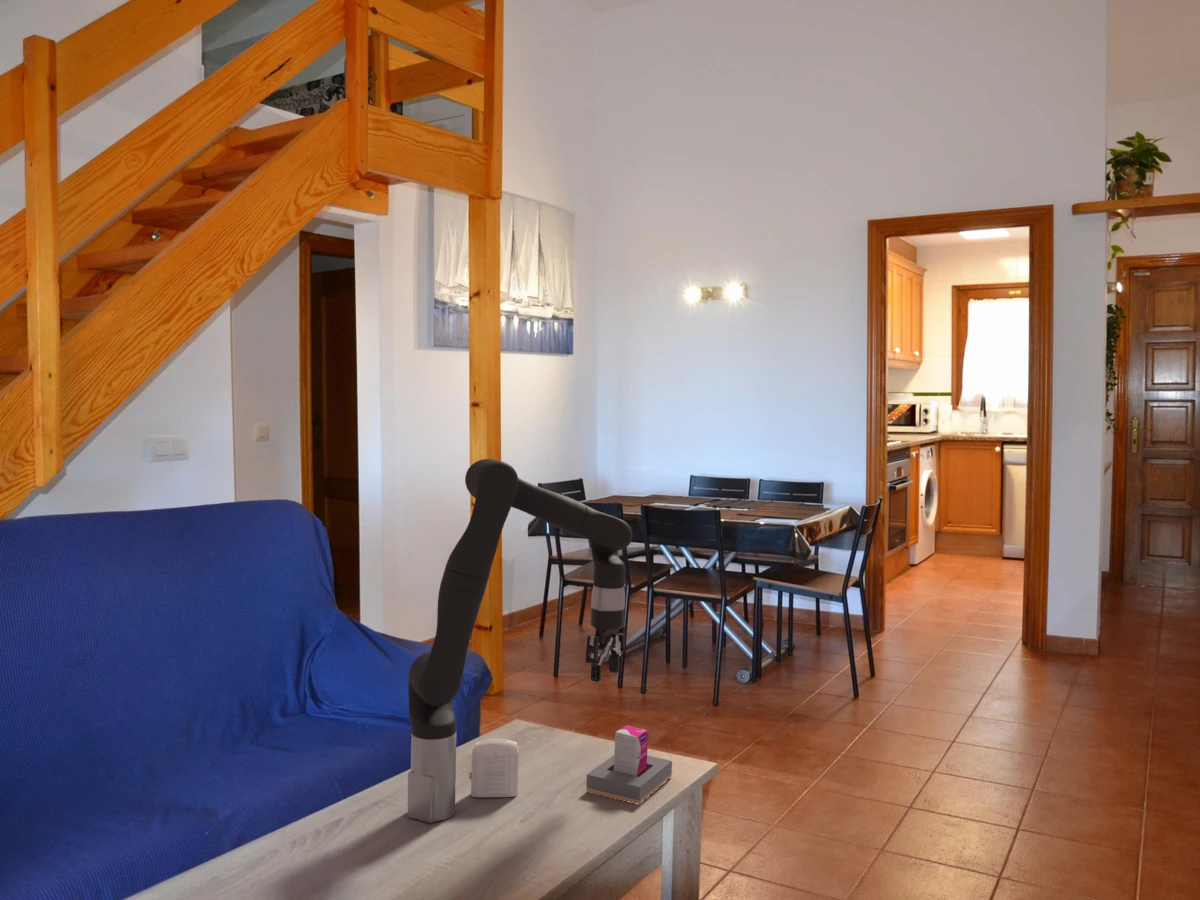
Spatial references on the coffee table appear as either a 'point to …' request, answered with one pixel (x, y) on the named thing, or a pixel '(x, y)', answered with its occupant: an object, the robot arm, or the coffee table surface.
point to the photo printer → (495, 768)
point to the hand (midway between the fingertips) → (604, 676)
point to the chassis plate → (628, 780)
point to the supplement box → (631, 751)
